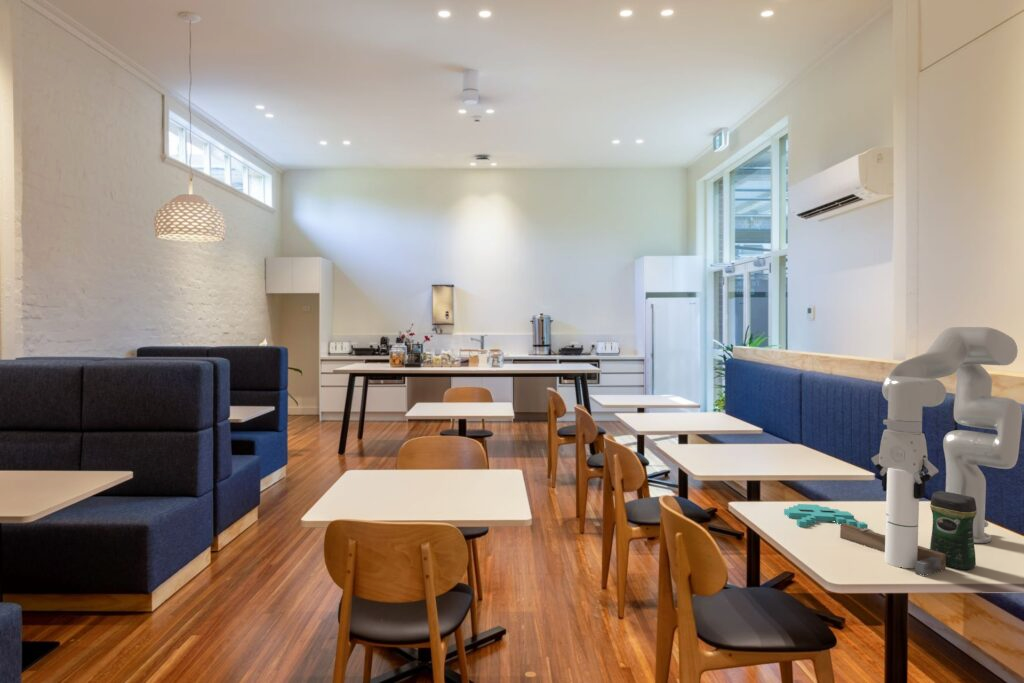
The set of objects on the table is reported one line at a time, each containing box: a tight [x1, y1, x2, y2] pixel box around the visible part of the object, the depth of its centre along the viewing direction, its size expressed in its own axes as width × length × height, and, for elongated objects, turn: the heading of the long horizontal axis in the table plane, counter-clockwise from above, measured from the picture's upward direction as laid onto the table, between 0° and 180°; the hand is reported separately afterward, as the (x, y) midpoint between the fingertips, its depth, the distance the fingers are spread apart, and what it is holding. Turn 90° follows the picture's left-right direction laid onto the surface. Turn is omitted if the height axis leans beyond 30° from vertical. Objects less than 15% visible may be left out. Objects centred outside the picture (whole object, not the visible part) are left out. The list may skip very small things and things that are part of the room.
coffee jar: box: [929, 490, 977, 570], centre depth 158 cm, size 10×8×19 cm
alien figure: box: [783, 503, 869, 529], centre depth 195 cm, size 20×2×20 cm
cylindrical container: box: [884, 468, 920, 569], centre depth 157 cm, size 7×7×25 cm
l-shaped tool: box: [839, 523, 947, 576], centre depth 163 cm, size 10×27×4 cm, turn 28°
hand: (902, 493), depth 157 cm, fingers closed on cylindrical container, 7 cm apart
